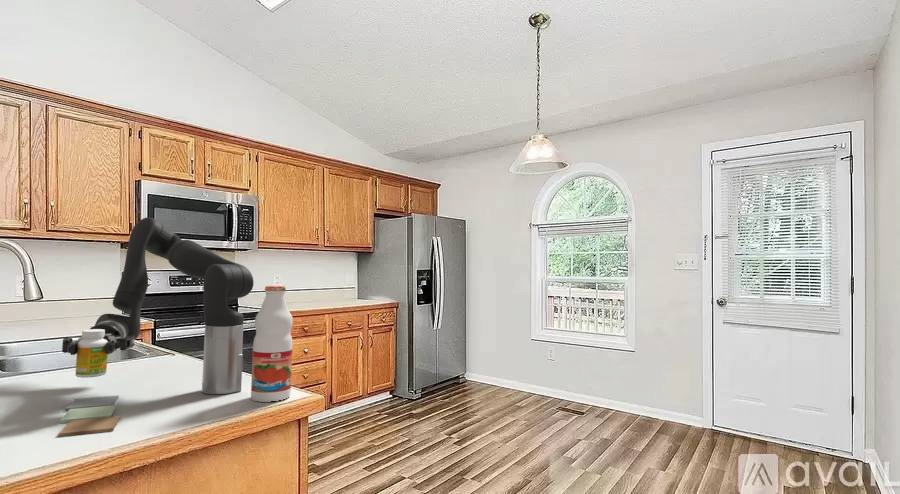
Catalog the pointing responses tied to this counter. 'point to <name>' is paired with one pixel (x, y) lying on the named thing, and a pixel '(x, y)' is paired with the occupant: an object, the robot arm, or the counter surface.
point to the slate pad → (93, 402)
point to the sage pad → (88, 413)
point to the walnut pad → (90, 426)
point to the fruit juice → (272, 348)
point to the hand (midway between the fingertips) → (90, 349)
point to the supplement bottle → (91, 354)
